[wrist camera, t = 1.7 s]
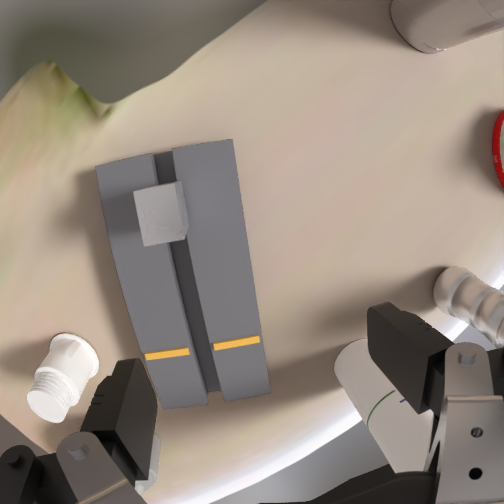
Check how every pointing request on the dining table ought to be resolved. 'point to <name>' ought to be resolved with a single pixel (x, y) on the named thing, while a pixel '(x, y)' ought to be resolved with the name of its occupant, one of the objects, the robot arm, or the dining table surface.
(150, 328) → the fader console
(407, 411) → the cylindrical container
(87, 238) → the dining table surface
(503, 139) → the kitchen timer
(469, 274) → the plastic bottle
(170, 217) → the fader knob
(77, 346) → the downlight
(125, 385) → the robot arm
